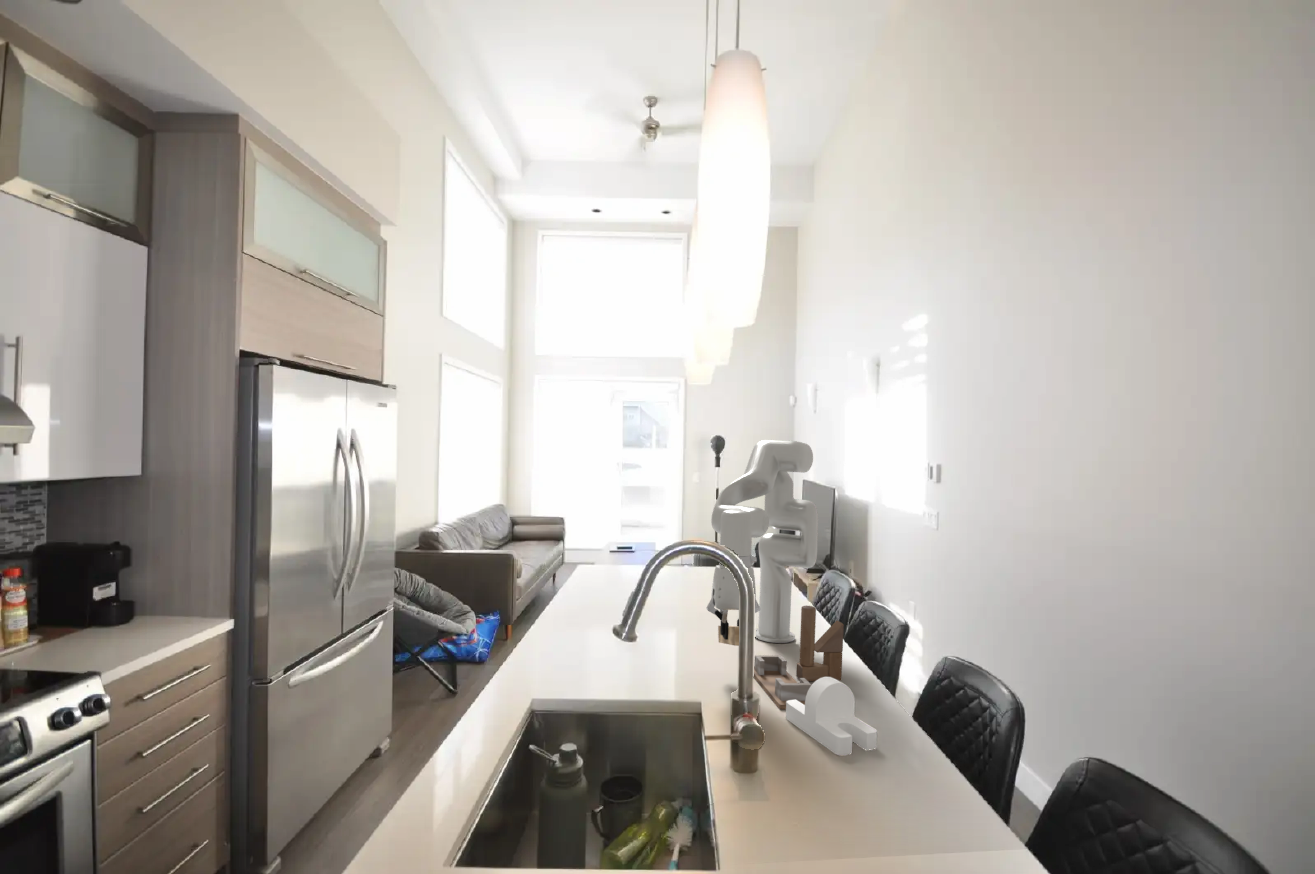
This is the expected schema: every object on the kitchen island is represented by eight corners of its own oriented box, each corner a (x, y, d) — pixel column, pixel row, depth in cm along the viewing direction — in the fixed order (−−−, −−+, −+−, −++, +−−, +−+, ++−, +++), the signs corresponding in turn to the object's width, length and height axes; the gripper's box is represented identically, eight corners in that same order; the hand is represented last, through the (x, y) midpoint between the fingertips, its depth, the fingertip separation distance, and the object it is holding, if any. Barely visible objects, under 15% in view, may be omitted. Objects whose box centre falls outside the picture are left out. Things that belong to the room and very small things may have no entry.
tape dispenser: (838, 757, 116) (841, 699, 116) (783, 717, 133) (785, 667, 133) (878, 750, 120) (881, 693, 120) (820, 712, 137) (822, 663, 137)
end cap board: (747, 670, 160) (748, 652, 160) (781, 670, 161) (782, 652, 162) (779, 709, 136) (780, 688, 137) (818, 708, 138) (819, 688, 138)
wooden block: (841, 681, 156) (844, 608, 156) (801, 682, 153) (804, 609, 154) (834, 675, 159) (837, 605, 160) (795, 677, 157) (798, 605, 157)
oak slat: (718, 642, 157) (718, 625, 158) (730, 642, 157) (729, 625, 158) (735, 645, 142) (735, 627, 143) (748, 645, 142) (747, 627, 143)
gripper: (762, 558, 155) (760, 632, 155) (698, 558, 152) (695, 633, 152) (772, 564, 147) (770, 642, 147) (705, 564, 145) (702, 643, 145)
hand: (732, 637), depth 150 cm, fingers closed on oak slat, 3 cm apart
